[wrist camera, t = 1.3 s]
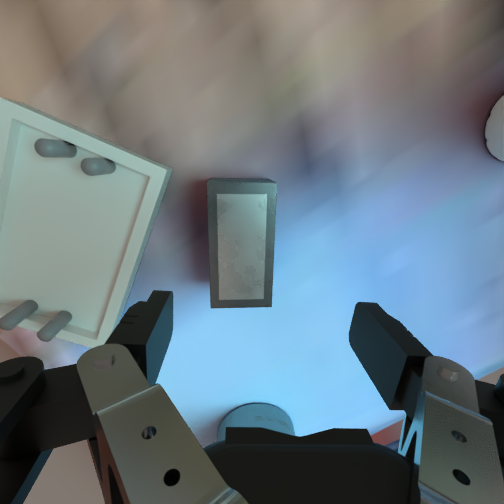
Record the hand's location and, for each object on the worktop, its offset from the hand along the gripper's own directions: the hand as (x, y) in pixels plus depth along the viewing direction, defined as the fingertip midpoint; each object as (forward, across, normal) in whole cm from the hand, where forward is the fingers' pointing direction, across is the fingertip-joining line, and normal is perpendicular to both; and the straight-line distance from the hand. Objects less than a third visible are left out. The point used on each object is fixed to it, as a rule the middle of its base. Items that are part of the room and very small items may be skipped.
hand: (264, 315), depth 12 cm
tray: (+14, +16, +2) cm, 21 cm away
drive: (+15, +1, 0) cm, 15 cm away
